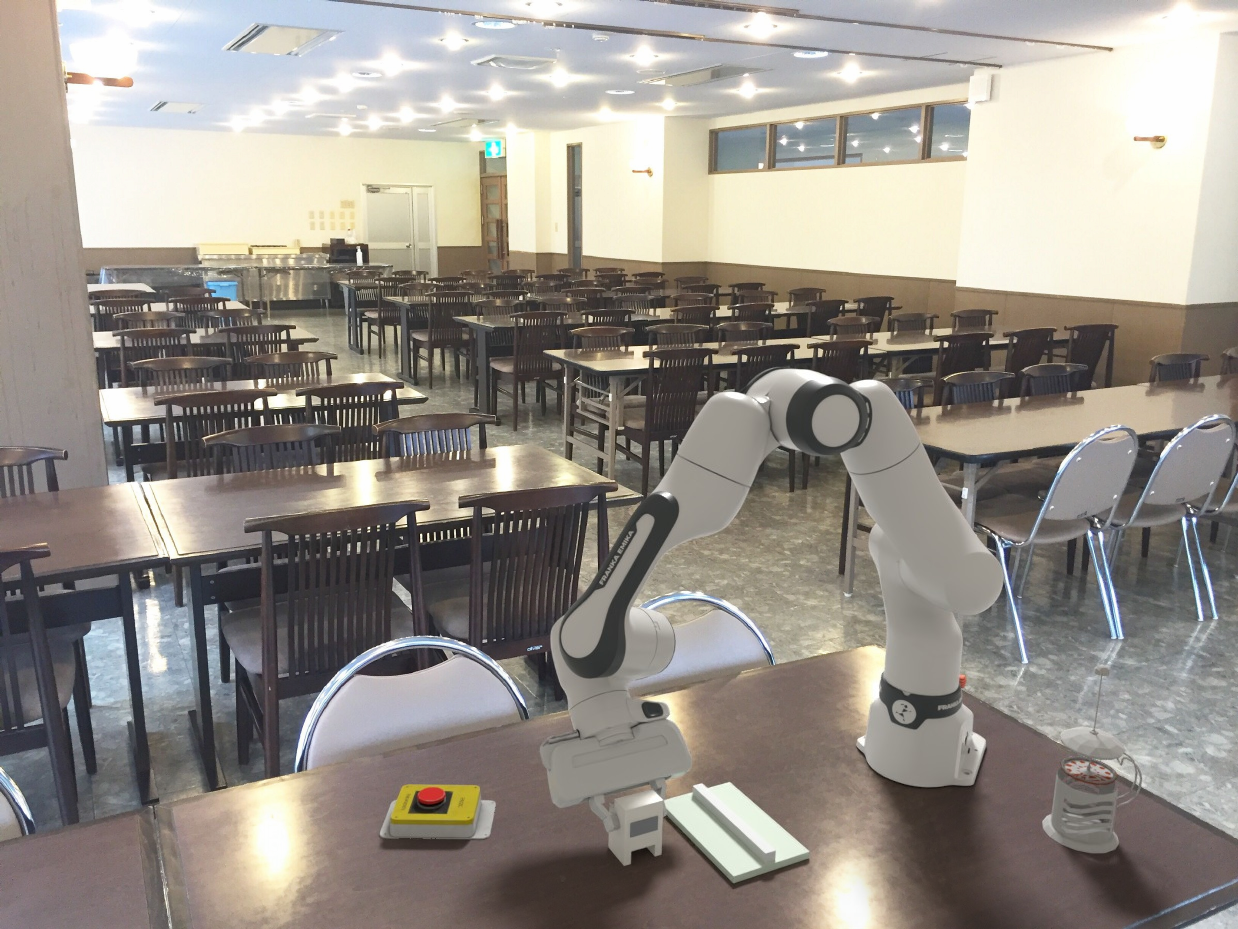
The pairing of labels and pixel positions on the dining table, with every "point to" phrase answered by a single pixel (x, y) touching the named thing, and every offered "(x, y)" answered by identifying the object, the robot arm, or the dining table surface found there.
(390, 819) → the emergency button
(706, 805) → the rail board
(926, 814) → the dining table surface
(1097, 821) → the french press
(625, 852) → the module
